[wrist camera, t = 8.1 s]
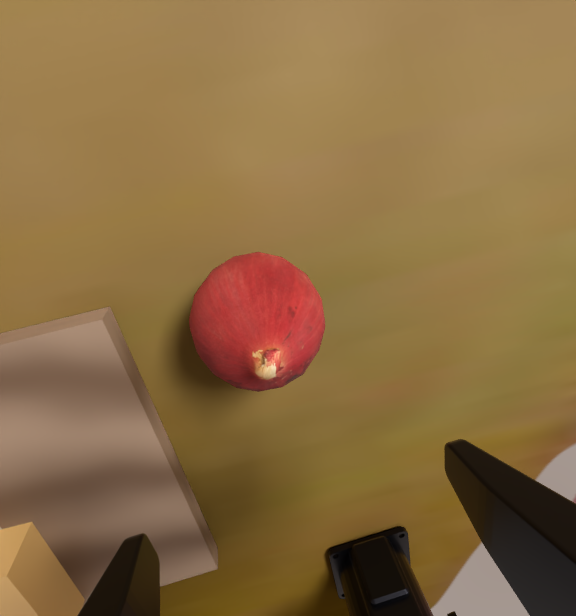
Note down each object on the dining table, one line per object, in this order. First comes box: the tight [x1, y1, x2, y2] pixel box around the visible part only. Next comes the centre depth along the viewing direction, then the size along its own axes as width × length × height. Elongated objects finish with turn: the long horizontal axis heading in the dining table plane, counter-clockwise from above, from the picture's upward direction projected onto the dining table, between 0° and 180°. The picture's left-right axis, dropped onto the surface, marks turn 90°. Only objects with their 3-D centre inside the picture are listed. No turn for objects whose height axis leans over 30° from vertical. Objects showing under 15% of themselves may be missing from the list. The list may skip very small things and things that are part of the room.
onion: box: [189, 252, 325, 392], centre depth 16 cm, size 6×6×8 cm
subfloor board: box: [0, 307, 218, 606], centre depth 22 cm, size 20×18×2 cm
